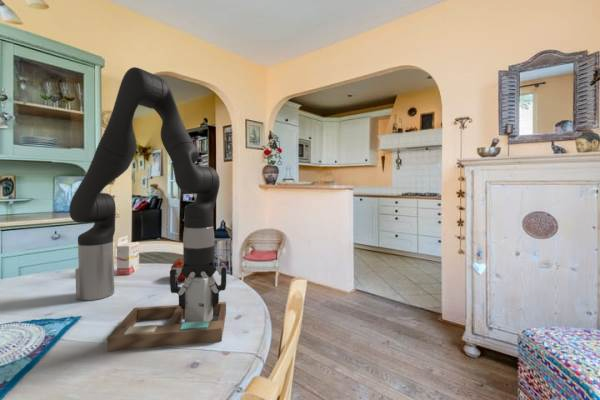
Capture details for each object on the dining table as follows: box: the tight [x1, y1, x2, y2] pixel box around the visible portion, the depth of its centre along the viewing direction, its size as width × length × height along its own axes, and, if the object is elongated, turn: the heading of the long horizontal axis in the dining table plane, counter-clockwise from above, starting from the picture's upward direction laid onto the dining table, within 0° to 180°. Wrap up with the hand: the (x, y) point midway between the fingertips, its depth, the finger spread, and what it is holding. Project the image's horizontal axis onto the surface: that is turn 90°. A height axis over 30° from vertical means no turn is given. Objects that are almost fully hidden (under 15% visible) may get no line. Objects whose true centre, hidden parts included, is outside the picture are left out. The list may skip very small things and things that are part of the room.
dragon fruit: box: [170, 258, 185, 283], centre depth 108 cm, size 8×8×12 cm
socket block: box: [106, 301, 227, 352], centre depth 71 cm, size 24×15×3 cm, turn 101°
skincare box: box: [184, 274, 215, 323], centre depth 73 cm, size 6×4×12 cm
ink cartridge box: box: [116, 235, 140, 276], centre depth 116 cm, size 9×5×15 cm, turn 5°
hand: (199, 306), depth 73 cm, fingers closed on skincare box, 7 cm apart
